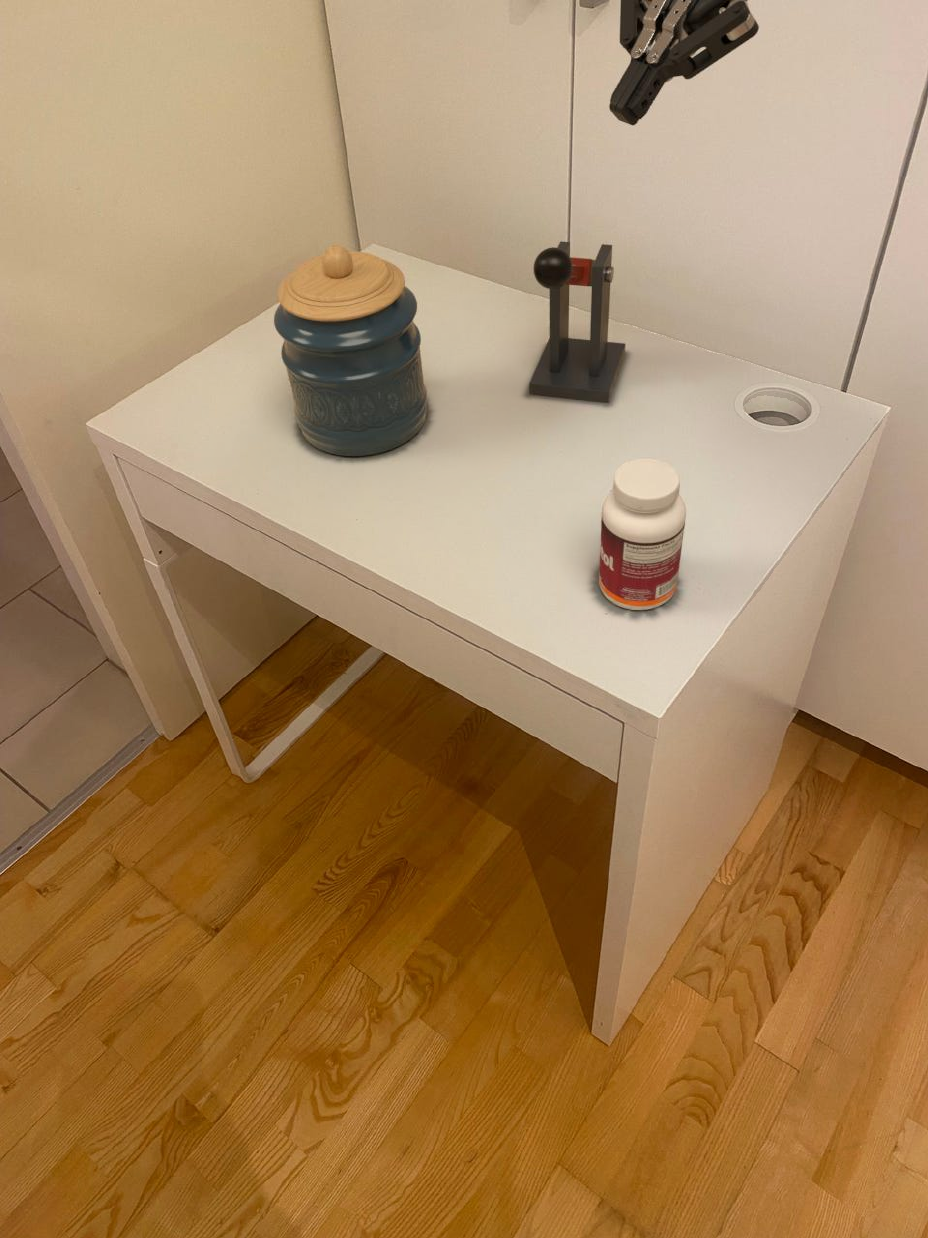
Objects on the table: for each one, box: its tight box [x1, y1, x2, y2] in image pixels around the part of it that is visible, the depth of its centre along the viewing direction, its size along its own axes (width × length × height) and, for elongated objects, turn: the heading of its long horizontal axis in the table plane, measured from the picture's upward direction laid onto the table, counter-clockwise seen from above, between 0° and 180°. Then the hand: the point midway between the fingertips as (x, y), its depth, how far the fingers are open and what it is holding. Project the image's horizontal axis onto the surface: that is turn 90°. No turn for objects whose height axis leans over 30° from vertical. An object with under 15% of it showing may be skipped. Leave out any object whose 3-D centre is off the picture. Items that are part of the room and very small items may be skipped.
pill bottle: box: [598, 458, 687, 611], centre depth 72 cm, size 6×6×11 cm
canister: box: [273, 245, 429, 457], centre depth 88 cm, size 13×13×18 cm
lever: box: [532, 246, 595, 290], centre depth 84 cm, size 16×3×3 cm, turn 163°
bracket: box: [528, 241, 627, 404], centre depth 93 cm, size 9×8×13 cm
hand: (620, 116), depth 73 cm, fingers closed
